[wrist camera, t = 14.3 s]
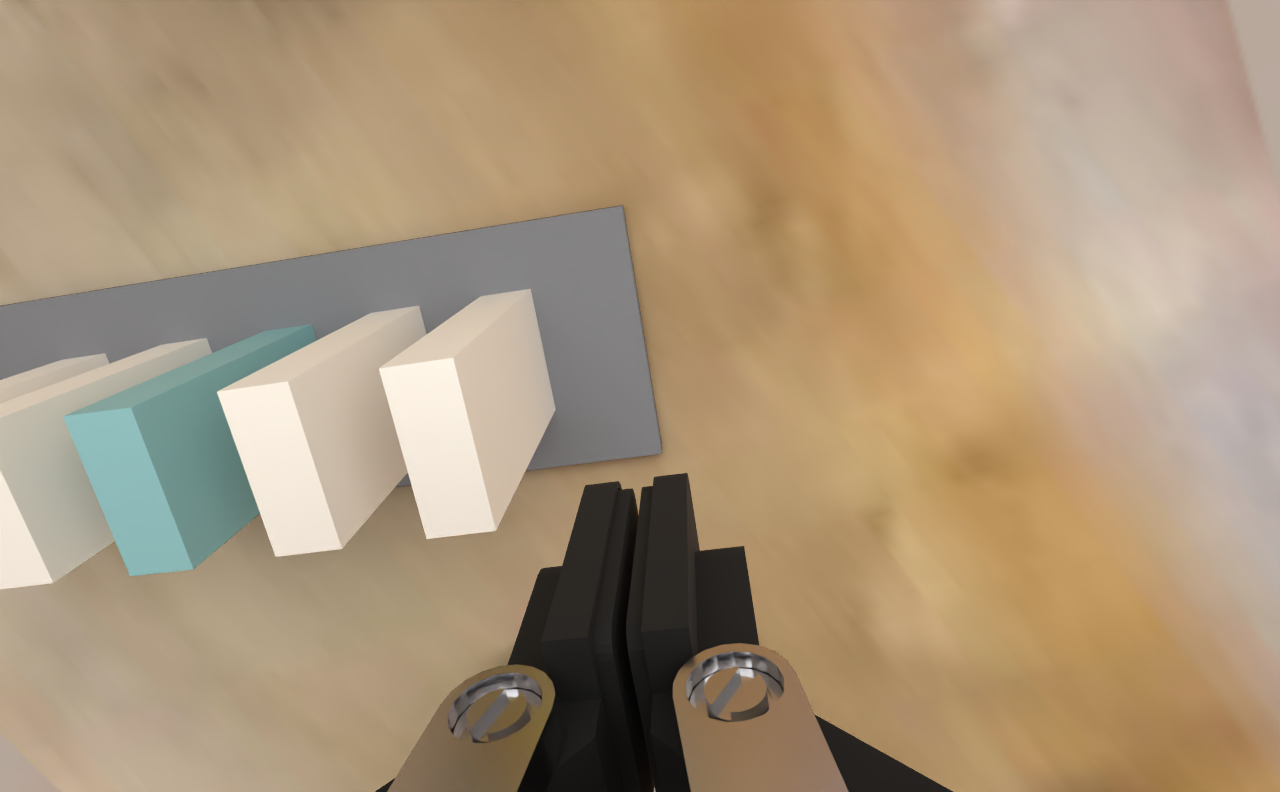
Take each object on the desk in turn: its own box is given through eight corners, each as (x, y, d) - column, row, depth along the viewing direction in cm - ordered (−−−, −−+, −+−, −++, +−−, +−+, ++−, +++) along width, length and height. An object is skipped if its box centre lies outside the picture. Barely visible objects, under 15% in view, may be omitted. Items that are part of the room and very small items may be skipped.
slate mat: (662, 448, 30) (662, 453, 30) (58, 524, 33) (47, 530, 33) (623, 205, 27) (621, 206, 27) (-39, 311, 30) (-53, 314, 30)
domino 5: (555, 409, 29) (496, 531, 20) (508, 416, 30) (426, 538, 20) (530, 288, 28) (453, 357, 18) (480, 296, 28) (378, 368, 19)
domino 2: (246, 451, 31) (53, 582, 21) (203, 456, 31) (-8, 590, 22) (206, 337, 29) (-21, 425, 20) (161, 344, 29) (-85, 434, 20)
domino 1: (149, 464, 31) (-82, 598, 22) (107, 469, 31) (-141, 605, 22) (105, 353, 30) (-165, 446, 20) (61, 359, 30) (-227, 455, 20)
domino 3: (345, 440, 30) (193, 569, 21) (300, 445, 31) (129, 575, 21) (311, 324, 29) (130, 407, 19) (264, 330, 29) (62, 416, 20)
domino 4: (449, 423, 30) (341, 548, 20) (403, 430, 30) (275, 556, 21) (419, 305, 28) (287, 381, 19) (370, 312, 29) (216, 391, 19)
